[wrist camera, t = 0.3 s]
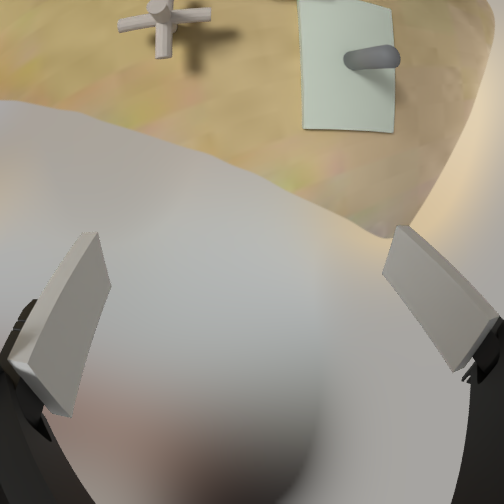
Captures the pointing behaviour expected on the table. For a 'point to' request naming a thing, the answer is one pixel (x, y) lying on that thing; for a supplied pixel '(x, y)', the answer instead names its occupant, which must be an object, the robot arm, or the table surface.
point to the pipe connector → (163, 23)
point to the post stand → (347, 65)
